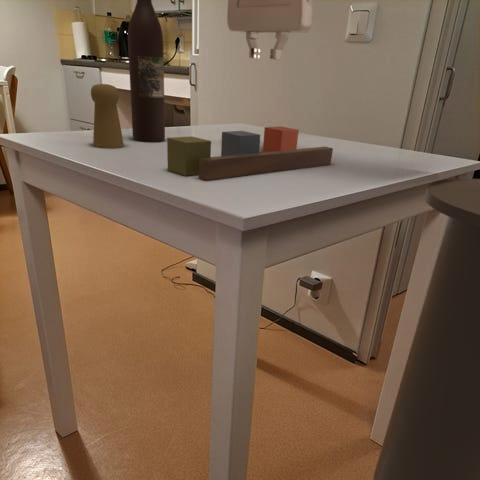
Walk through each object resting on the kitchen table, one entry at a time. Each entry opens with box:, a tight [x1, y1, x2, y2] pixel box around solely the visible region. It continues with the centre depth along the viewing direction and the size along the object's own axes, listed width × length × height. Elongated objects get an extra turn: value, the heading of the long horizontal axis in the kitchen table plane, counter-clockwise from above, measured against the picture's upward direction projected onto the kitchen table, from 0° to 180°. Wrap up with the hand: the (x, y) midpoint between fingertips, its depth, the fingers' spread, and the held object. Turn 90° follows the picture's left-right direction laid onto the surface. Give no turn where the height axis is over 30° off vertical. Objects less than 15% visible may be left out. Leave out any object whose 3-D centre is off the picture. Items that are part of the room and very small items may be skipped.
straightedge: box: [198, 146, 334, 182], centre depth 79 cm, size 2×31×3 cm, turn 132°
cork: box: [90, 83, 125, 149], centre depth 89 cm, size 6×6×11 cm
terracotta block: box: [262, 126, 299, 152], centre depth 94 cm, size 5×5×5 cm
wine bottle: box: [127, 0, 166, 143], centre depth 94 cm, size 7×7×30 cm
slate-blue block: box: [220, 130, 261, 156], centre depth 84 cm, size 5×5×5 cm
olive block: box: [166, 135, 212, 177], centre depth 74 cm, size 5×5×5 cm
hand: (264, 59), depth 91 cm, fingers open, 5 cm apart
